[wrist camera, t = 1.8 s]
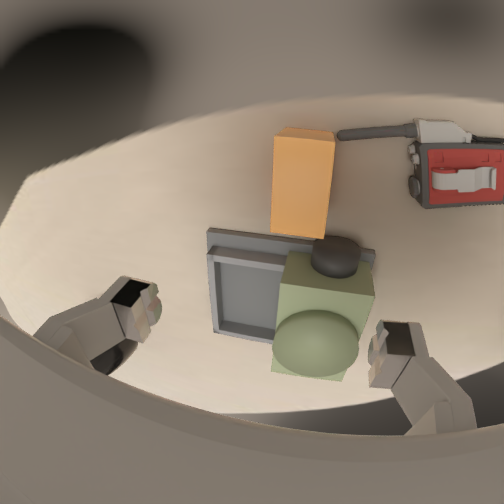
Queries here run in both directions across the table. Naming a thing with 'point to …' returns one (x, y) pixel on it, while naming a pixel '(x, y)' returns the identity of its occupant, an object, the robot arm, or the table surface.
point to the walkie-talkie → (447, 163)
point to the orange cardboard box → (301, 181)
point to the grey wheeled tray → (292, 298)
